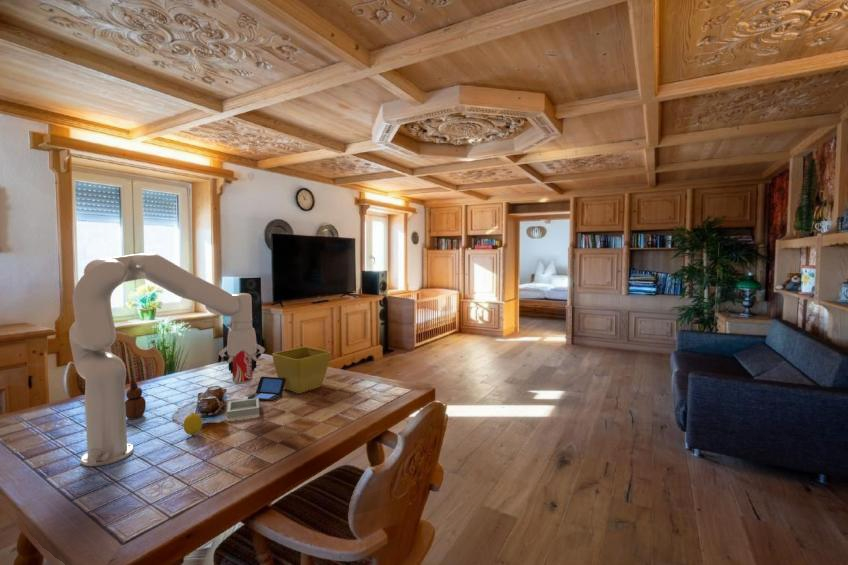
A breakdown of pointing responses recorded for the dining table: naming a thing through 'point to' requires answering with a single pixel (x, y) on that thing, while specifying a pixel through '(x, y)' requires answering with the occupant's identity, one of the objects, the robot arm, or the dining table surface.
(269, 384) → the handheld game console
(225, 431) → the dining table surface
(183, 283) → the robot arm
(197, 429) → the lemon
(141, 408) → the wooden figurine
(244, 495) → the dining table surface
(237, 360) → the soda can
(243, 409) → the holder
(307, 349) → the flower pot
